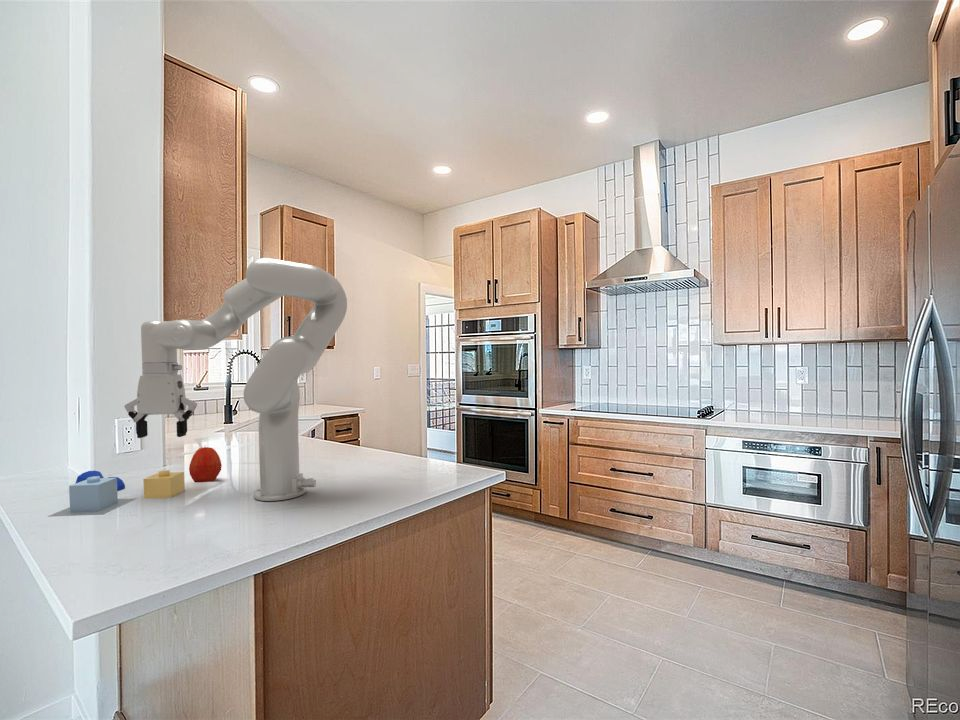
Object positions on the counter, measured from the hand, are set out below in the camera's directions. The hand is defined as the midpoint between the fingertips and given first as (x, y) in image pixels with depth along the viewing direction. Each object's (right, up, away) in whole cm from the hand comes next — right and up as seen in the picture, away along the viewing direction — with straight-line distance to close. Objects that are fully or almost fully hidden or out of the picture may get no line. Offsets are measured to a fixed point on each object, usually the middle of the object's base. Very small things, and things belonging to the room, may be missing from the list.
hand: (162, 436), depth 126 cm
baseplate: (-10, -16, -9) cm, 21 cm away
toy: (-21, -17, +7) cm, 28 cm away
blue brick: (-10, -15, -9) cm, 20 cm away
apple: (+3, -16, +15) cm, 22 cm away
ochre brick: (0, -16, 0) cm, 16 cm away
